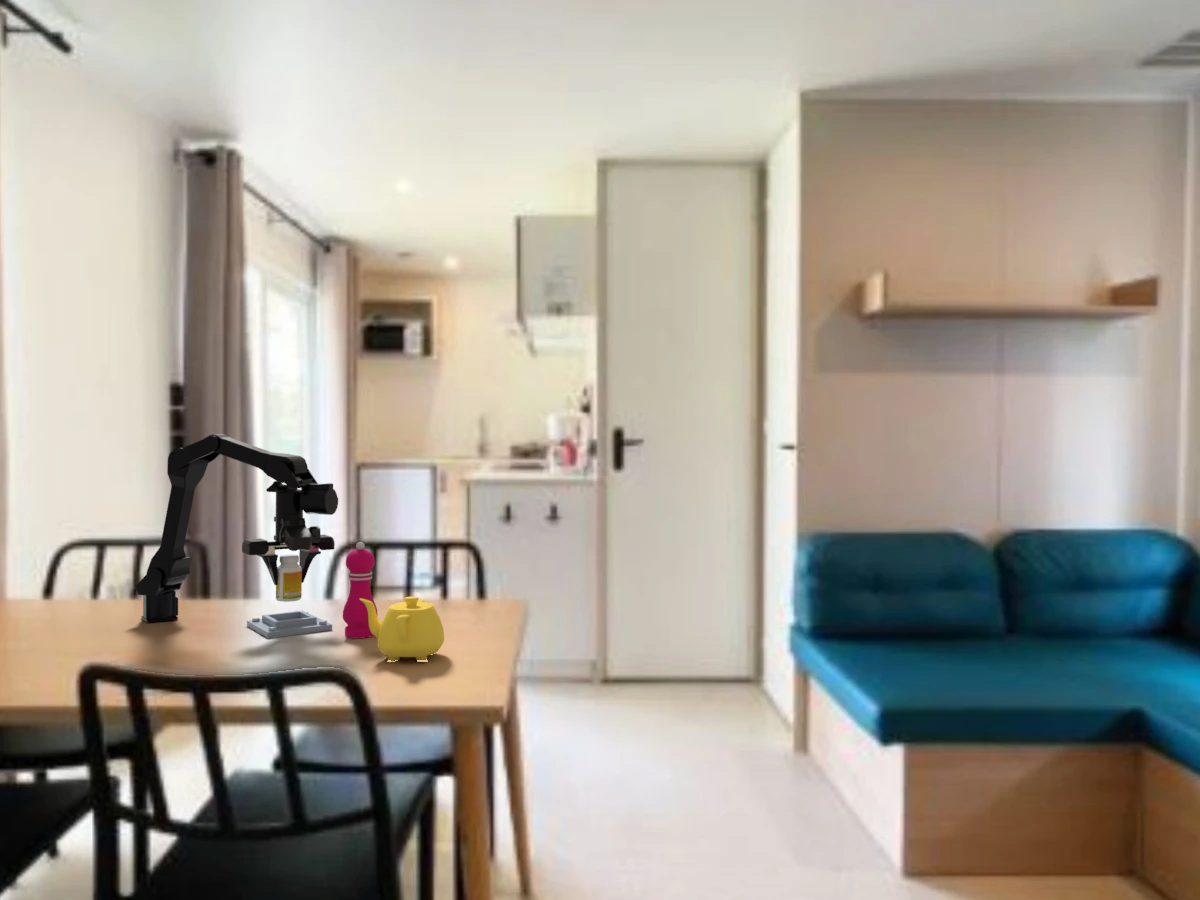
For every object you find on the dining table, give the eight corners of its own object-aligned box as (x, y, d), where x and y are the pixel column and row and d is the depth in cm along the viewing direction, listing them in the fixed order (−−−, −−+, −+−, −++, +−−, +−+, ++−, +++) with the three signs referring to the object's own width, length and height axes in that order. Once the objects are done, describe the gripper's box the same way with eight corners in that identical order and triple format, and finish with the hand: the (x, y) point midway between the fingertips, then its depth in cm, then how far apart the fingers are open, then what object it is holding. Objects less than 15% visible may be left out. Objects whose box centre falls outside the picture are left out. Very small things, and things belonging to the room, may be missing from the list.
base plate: (267, 638, 199) (267, 625, 198) (246, 626, 210) (246, 614, 210) (332, 629, 207) (332, 618, 207) (308, 618, 218) (308, 607, 218)
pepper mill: (384, 633, 204) (384, 541, 204) (362, 640, 198) (363, 545, 197) (357, 630, 207) (357, 539, 207) (335, 636, 201) (335, 542, 200)
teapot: (418, 645, 195) (418, 587, 194) (460, 658, 184) (460, 597, 184) (358, 656, 185) (358, 595, 184) (398, 670, 175) (399, 606, 174)
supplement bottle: (306, 598, 210) (307, 555, 209) (291, 602, 205) (291, 558, 204) (286, 596, 212) (286, 553, 211) (270, 600, 206) (271, 556, 206)
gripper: (258, 518, 195) (257, 593, 196) (344, 514, 207) (343, 585, 207) (241, 513, 204) (240, 585, 205) (325, 509, 216) (324, 578, 216)
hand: (288, 583), depth 208 cm, fingers closed on supplement bottle, 5 cm apart
